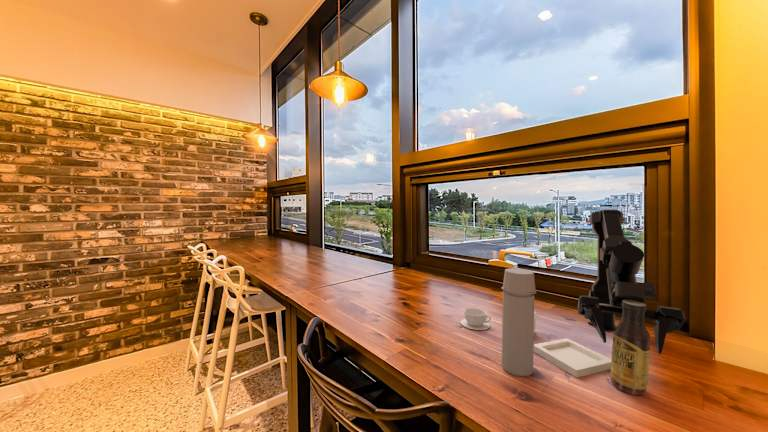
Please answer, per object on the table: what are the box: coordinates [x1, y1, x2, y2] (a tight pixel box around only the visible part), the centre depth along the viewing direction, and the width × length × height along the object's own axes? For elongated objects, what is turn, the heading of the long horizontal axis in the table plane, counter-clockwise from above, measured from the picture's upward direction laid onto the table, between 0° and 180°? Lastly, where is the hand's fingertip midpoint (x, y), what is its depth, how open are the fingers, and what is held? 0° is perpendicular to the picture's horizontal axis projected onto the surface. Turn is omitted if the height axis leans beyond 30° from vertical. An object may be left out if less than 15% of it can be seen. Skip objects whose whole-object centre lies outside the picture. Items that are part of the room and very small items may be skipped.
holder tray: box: [533, 337, 612, 378], centre depth 75 cm, size 13×13×2 cm
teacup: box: [460, 307, 492, 331], centre depth 97 cm, size 10×10×5 cm
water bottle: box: [500, 267, 537, 378], centre depth 70 cm, size 9×8×25 cm
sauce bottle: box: [610, 299, 651, 396], centre depth 62 cm, size 6×6×20 cm
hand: (631, 347), depth 61 cm, fingers open, 9 cm apart
